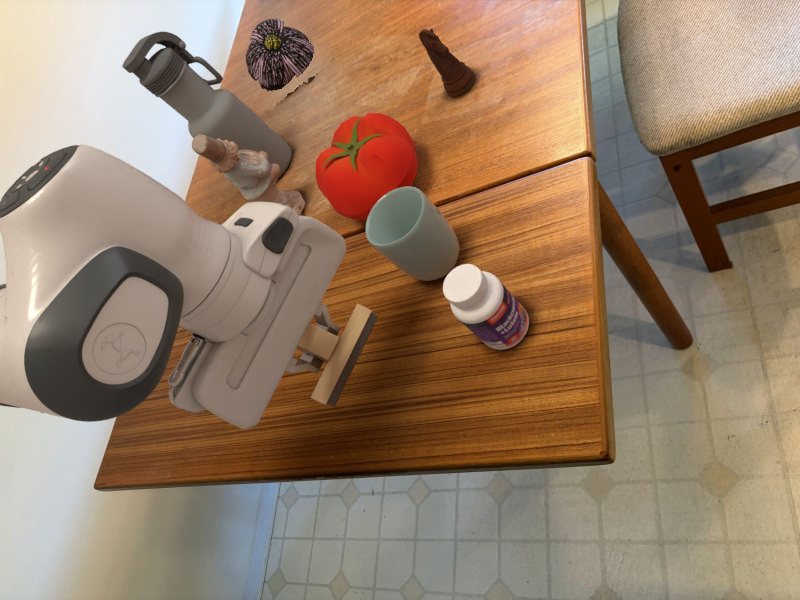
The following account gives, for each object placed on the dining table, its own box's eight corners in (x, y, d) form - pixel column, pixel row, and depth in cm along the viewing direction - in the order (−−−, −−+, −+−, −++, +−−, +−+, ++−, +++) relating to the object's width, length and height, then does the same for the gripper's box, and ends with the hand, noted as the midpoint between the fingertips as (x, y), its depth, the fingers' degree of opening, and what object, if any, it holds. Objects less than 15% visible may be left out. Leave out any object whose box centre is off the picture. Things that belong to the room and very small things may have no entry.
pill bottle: (523, 353, 55) (478, 311, 48) (476, 348, 58) (428, 307, 51) (536, 304, 56) (495, 256, 50) (489, 302, 60) (445, 256, 53)
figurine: (301, 231, 86) (197, 148, 72) (264, 241, 91) (159, 165, 77) (314, 185, 90) (218, 98, 76) (278, 197, 95) (181, 117, 81)
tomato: (374, 251, 74) (327, 210, 67) (332, 197, 86) (287, 157, 79) (453, 174, 73) (412, 123, 66) (398, 130, 84) (359, 82, 77)
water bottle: (271, 145, 105) (140, 27, 85) (303, 142, 99) (170, 14, 79) (245, 190, 103) (105, 79, 83) (277, 190, 96) (132, 71, 76)
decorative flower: (245, 77, 101) (224, 27, 107) (272, 119, 112) (251, 71, 118) (317, 41, 101) (291, -8, 107) (337, 86, 111) (312, 39, 118)
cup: (408, 294, 67) (358, 252, 60) (417, 240, 71) (371, 194, 64) (465, 285, 63) (419, 238, 56) (472, 228, 66) (429, 177, 59)
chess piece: (461, 100, 79) (424, 46, 72) (440, 94, 82) (402, 41, 75) (482, 75, 79) (447, 18, 72) (459, 69, 82) (424, 15, 75)
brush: (333, 408, 51) (266, 377, 51) (333, 409, 56) (272, 379, 56) (379, 312, 54) (316, 282, 53) (376, 321, 58) (317, 292, 58)
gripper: (174, 412, 43) (297, 456, 53) (297, 190, 47) (389, 268, 57) (141, 389, 47) (260, 433, 57) (256, 187, 52) (348, 260, 61)
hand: (325, 349), depth 57 cm, fingers closed on brush, 2 cm apart
